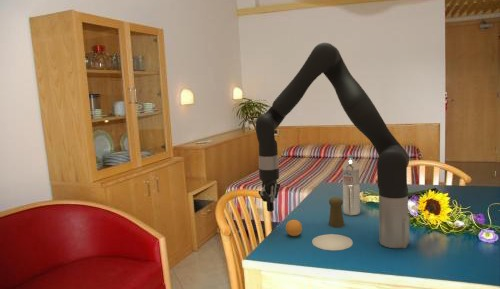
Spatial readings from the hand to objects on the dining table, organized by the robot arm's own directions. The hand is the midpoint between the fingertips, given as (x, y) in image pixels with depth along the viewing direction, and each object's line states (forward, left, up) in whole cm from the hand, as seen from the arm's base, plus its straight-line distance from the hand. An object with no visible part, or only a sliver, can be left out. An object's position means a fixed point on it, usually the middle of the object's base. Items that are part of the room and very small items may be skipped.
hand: (270, 210), depth 154 cm
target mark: (-25, 0, -8) cm, 26 cm away
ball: (-10, 0, -5) cm, 11 cm away
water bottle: (-21, -32, -9) cm, 39 cm away
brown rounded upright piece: (-20, -17, -9) cm, 27 cm away
